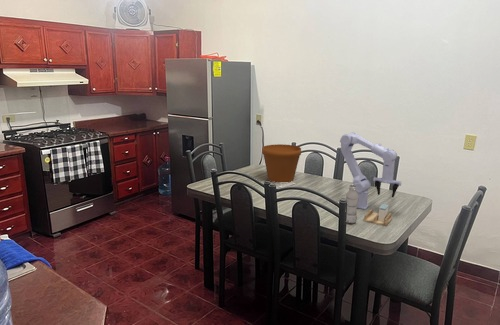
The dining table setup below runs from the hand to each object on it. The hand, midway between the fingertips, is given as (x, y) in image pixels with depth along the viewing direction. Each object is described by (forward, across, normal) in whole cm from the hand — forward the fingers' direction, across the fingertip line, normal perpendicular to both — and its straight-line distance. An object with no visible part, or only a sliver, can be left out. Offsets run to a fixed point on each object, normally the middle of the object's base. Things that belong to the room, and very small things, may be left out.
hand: (385, 195), depth 202 cm
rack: (+10, 0, -13) cm, 16 cm away
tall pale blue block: (+9, +2, -13) cm, 16 cm away
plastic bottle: (+10, -11, -25) cm, 29 cm away
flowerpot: (+10, -80, +24) cm, 84 cm away
